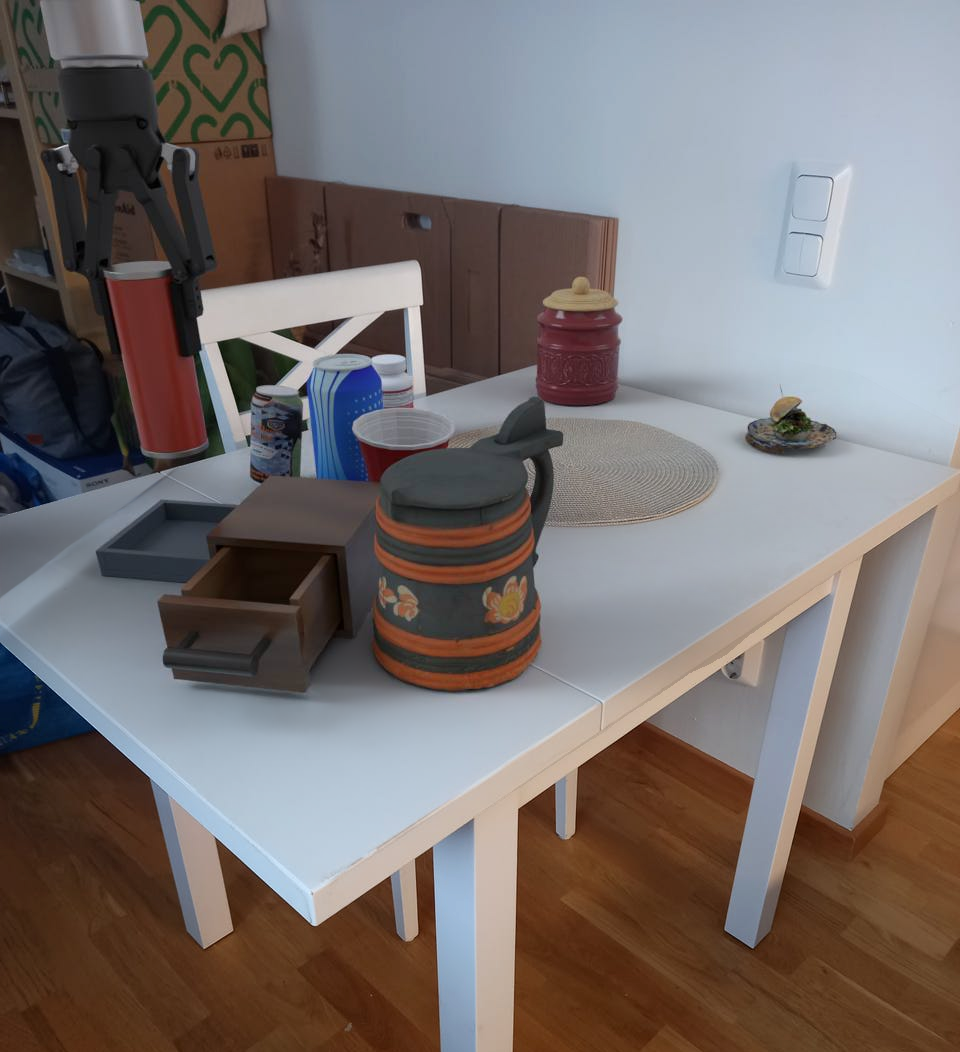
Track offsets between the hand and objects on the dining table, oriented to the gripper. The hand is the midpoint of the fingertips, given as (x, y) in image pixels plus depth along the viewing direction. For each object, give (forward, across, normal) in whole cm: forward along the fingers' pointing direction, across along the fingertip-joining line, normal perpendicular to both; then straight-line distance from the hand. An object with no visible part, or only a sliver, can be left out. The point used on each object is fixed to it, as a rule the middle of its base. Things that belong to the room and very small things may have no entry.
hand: (157, 351), depth 87 cm
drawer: (+20, -16, +20) cm, 32 cm away
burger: (+21, -65, -46) cm, 82 cm away
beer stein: (+21, -33, +12) cm, 41 cm away
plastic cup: (+21, -21, -10) cm, 31 cm away
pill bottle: (+21, -11, -39) cm, 46 cm away
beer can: (+21, -12, -18) cm, 30 cm away
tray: (+21, 0, 0) cm, 21 cm away
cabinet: (+21, -16, +7) cm, 27 cm away
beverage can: (+21, -2, -20) cm, 29 cm away
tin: (+9, 0, 0) cm, 9 cm away
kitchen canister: (+21, -34, -64) cm, 75 cm away
